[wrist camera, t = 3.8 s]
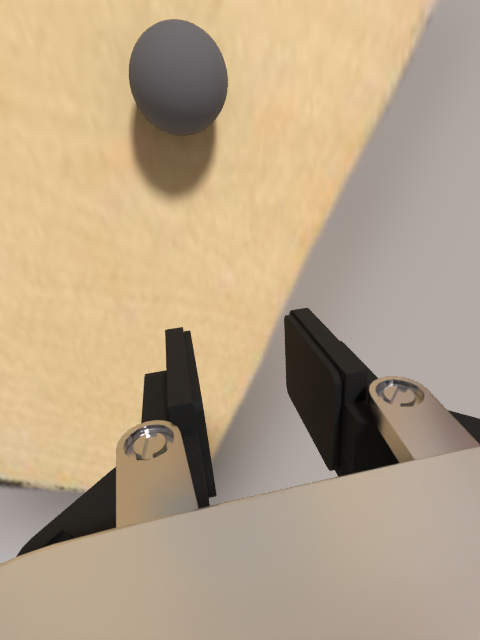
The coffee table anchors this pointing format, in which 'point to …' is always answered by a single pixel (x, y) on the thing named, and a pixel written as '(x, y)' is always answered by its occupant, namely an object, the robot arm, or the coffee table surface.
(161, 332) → the coffee table surface
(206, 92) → the grey ball
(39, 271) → the coffee table surface
